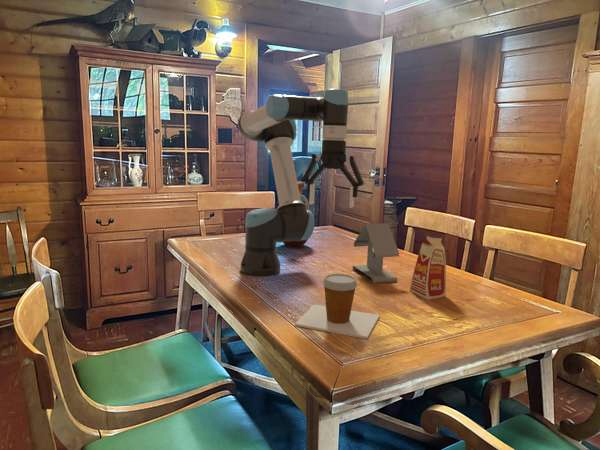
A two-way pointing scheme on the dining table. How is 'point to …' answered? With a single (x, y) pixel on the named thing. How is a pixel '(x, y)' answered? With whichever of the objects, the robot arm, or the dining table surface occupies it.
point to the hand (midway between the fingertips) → (331, 205)
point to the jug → (300, 243)
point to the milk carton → (430, 270)
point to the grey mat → (356, 325)
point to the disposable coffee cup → (339, 296)
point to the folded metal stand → (377, 251)
